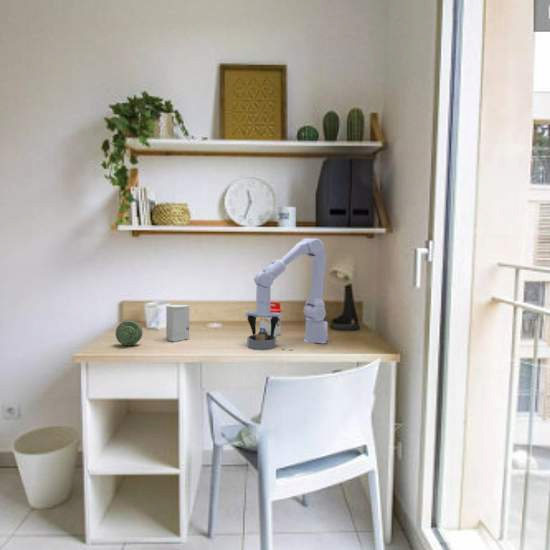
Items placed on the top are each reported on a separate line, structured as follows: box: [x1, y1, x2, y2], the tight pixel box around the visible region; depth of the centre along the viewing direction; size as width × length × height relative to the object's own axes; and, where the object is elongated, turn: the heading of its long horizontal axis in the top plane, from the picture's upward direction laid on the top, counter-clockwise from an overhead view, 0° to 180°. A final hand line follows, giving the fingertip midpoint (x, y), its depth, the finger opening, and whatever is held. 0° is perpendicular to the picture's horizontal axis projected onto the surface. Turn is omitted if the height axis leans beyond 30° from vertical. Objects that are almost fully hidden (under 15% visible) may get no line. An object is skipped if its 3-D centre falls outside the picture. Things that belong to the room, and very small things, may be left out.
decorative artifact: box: [115, 319, 143, 346], centre depth 165 cm, size 10×7×10 cm
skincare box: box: [165, 304, 190, 343], centre depth 177 cm, size 8×6×15 cm
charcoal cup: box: [246, 333, 277, 351], centre depth 167 cm, size 11×11×4 cm
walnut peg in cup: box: [255, 333, 265, 341], centre depth 164 cm, size 4×4×5 cm
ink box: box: [259, 301, 282, 337], centre depth 189 cm, size 8×5×15 cm, turn 62°
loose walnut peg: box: [258, 331, 267, 340], centre depth 169 cm, size 4×4×5 cm
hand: (263, 334), depth 168 cm, fingers open, 7 cm apart
